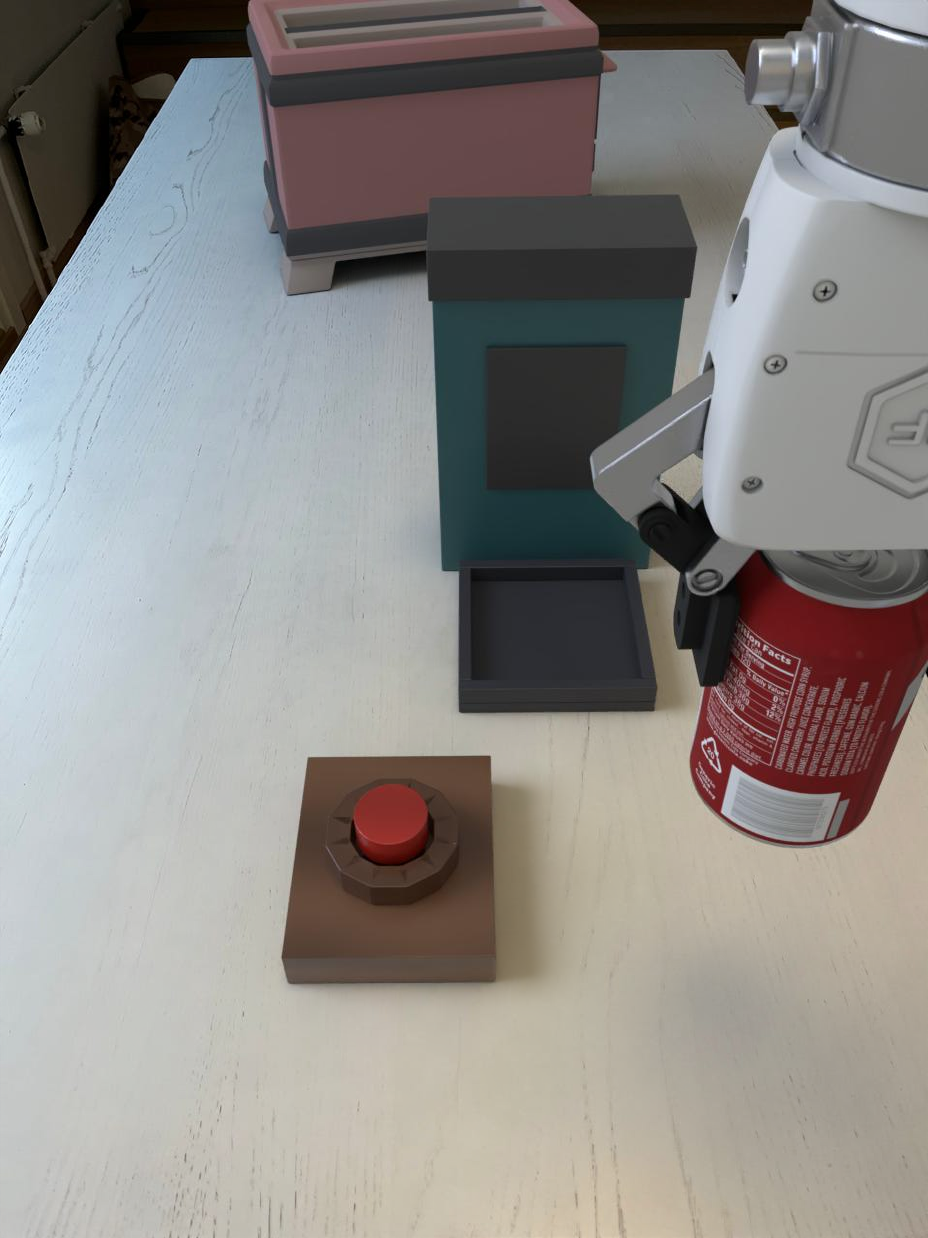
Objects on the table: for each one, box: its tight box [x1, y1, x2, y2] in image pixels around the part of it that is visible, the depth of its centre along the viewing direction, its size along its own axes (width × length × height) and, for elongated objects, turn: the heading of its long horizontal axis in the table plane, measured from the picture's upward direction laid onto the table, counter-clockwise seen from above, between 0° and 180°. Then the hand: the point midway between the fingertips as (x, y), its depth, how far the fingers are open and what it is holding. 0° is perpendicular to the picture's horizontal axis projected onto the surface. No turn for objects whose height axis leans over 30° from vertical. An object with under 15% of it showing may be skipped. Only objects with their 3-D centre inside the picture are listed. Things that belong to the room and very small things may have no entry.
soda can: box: [688, 549, 928, 849], centre depth 37 cm, size 7×7×12 cm
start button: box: [354, 784, 429, 865], centre depth 54 cm, size 4×4×2 cm
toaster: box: [245, 0, 618, 296], centre depth 105 cm, size 19×34×21 cm, turn 104°
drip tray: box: [457, 559, 658, 713], centre depth 68 cm, size 12×12×2 cm
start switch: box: [280, 755, 496, 984], centre depth 55 cm, size 12×10×4 cm
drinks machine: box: [425, 194, 698, 571], centre depth 68 cm, size 7×14×23 cm, turn 90°
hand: (815, 651), depth 36 cm, fingers closed on soda can, 6 cm apart
